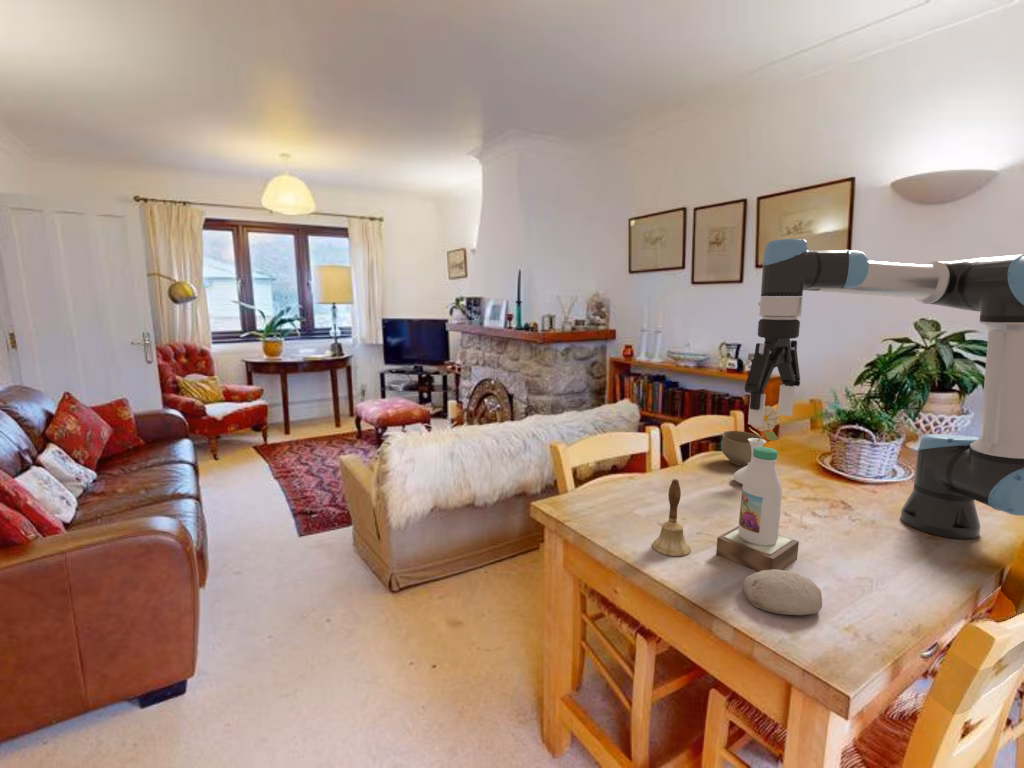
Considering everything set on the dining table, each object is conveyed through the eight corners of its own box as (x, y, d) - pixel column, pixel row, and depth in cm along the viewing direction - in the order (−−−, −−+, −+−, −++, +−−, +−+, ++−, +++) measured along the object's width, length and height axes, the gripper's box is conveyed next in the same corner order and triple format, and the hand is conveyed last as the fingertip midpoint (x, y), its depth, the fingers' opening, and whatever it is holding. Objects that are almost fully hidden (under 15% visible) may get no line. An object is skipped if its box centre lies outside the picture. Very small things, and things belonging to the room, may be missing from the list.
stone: (743, 622, 96) (742, 603, 92) (743, 573, 103) (742, 552, 98) (823, 635, 91) (826, 614, 86) (816, 582, 98) (819, 560, 93)
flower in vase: (724, 480, 159) (730, 401, 155) (753, 476, 163) (759, 398, 158) (757, 495, 147) (765, 410, 142) (787, 490, 150) (795, 407, 146)
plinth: (797, 558, 111) (799, 540, 110) (771, 577, 103) (773, 557, 103) (743, 538, 120) (744, 521, 119) (716, 554, 113) (717, 536, 112)
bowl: (739, 471, 166) (742, 442, 165) (711, 460, 178) (713, 432, 176) (769, 467, 171) (771, 438, 169) (739, 456, 183) (741, 429, 181)
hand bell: (648, 538, 120) (651, 473, 117) (684, 539, 120) (688, 474, 117) (657, 556, 112) (661, 486, 109) (695, 557, 111) (700, 487, 109)
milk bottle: (769, 531, 114) (777, 444, 111) (783, 547, 107) (792, 455, 103) (733, 529, 115) (740, 443, 112) (744, 545, 108) (752, 454, 104)
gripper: (786, 316, 115) (778, 408, 118) (730, 319, 99) (723, 425, 103) (823, 317, 109) (813, 414, 113) (770, 320, 93) (761, 433, 97)
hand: (770, 420), depth 108 cm, fingers open, 13 cm apart
